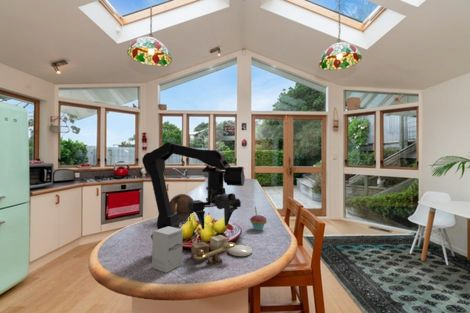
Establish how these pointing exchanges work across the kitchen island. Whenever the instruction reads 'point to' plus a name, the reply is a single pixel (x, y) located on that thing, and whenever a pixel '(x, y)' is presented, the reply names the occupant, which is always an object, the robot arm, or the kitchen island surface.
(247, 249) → the dish
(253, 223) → the cupcake
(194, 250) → the walnut block
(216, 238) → the maple block
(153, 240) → the supplement box
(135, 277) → the kitchen island surface
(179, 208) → the wooden sphere
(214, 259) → the balance
